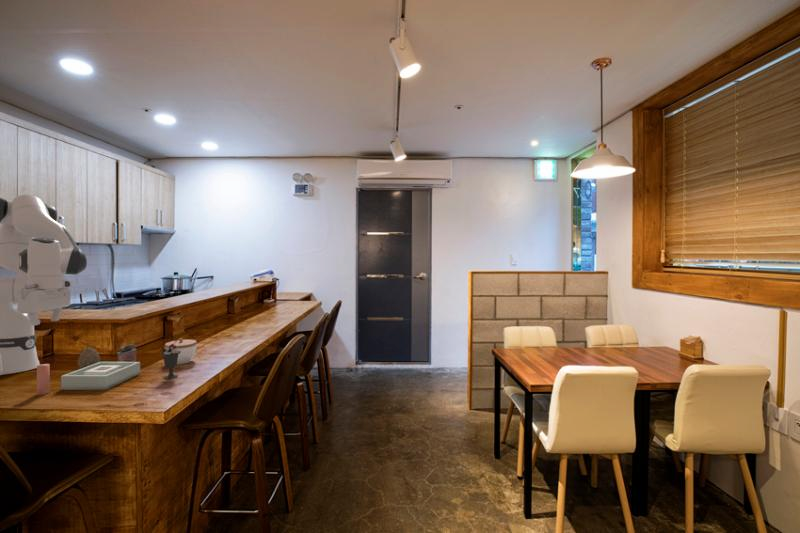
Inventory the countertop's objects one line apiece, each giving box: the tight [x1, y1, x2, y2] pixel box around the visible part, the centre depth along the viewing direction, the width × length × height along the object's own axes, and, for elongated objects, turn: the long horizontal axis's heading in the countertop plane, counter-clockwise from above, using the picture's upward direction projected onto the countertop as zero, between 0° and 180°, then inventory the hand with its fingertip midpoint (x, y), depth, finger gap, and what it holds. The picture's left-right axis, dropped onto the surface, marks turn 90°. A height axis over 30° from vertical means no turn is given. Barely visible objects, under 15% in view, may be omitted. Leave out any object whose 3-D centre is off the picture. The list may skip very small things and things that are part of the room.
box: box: [60, 361, 141, 391], centre depth 141 cm, size 16×18×5 cm
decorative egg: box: [77, 346, 101, 369], centre depth 153 cm, size 7×7×10 cm
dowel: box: [36, 363, 51, 396], centre depth 128 cm, size 3×3×10 cm
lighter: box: [116, 343, 138, 362], centre depth 158 cm, size 8×3×10 cm, turn 168°
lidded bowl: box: [164, 337, 198, 365], centre depth 167 cm, size 13×13×11 cm
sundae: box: [160, 339, 180, 380], centre depth 146 cm, size 7×7×15 cm
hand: (45, 322), depth 128 cm, fingers open, 8 cm apart
